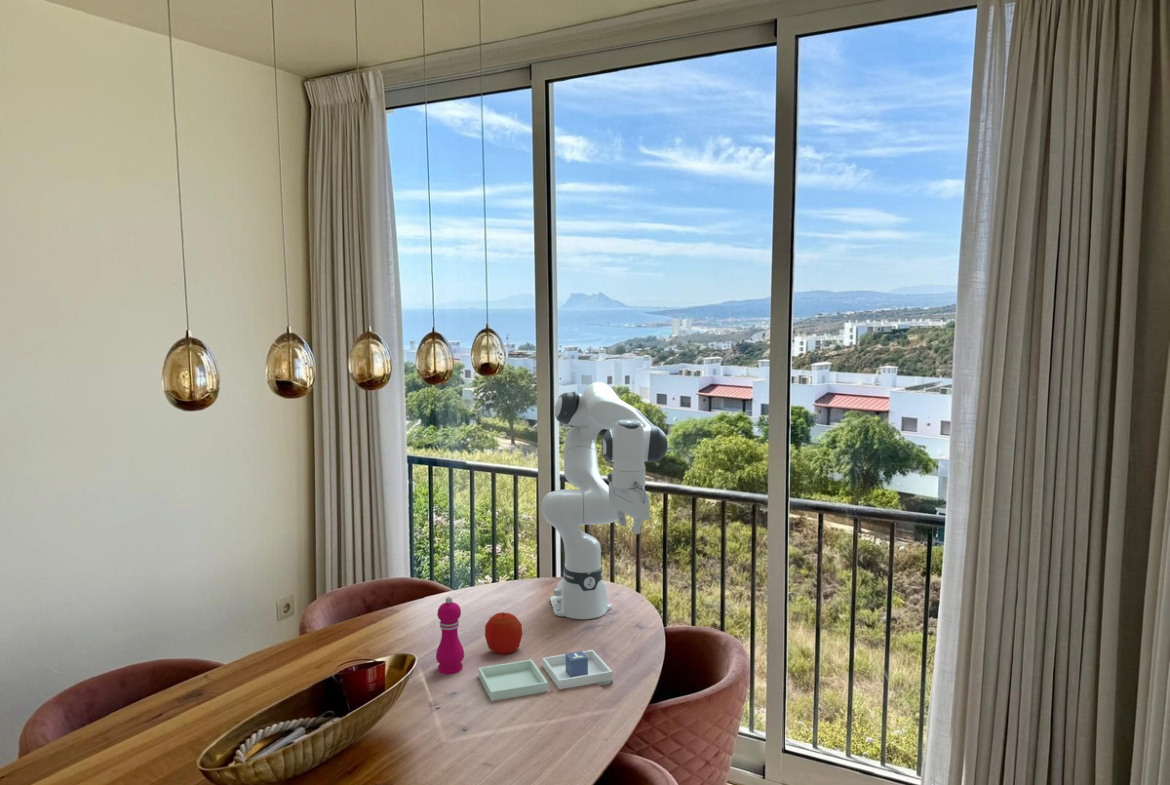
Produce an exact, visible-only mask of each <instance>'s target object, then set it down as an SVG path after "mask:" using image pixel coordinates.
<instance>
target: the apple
mask: <svg viewBox="0 0 1170 785" xmlns="http://www.w3.org/2000/svg"><path fill="white" fill-rule="evenodd" d="M523 634H524V633H523V625H522V623H521V622H520V620H519V619H518V618H517V616H516V615H514V614H512V613H510V612H498V613H495V614H494V615H492V616H490V618H489V619H488V621H487V623H486V624H485V627H484V637H485V641H486V644H487V647H488V649H489V650H490V651H492V652H493V653H495V654H498V655H509V654H511V653H514V652H515V651H517V649H519V648H520V644H521V641H522V638H523Z"/></svg>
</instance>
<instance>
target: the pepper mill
mask: <svg viewBox="0 0 1170 785" xmlns="http://www.w3.org/2000/svg"><path fill="white" fill-rule="evenodd" d="M461 611H462V610H461V606H460V605H459V604H458V603H457V602H453V598H452V597H451V596H447V597H446V598H445V602H444V603H443V602H442V604H440V606H439V607H438V609H437V618H438V619H439V628H440V629H441V637H440V638H441V639H440V642H439V645H438V647H437V649H436V654H435V658H436V662H437V663H438V666H437V670H438V672H439V673H440V674H443V675H453V674H457V673H458V674H459V672H461V671H463V667H464V666H463V662H462V661H463V660H464V658H465V652H464V646H463V645H462V643H461V641H460V637H459V634H458V633H459V632H458V628H459V627H460V620H459V618H461V615H462V612H461Z"/></svg>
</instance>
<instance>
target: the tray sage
mask: <svg viewBox="0 0 1170 785" xmlns="http://www.w3.org/2000/svg"><path fill="white" fill-rule="evenodd" d="M477 672H478V676H477V677H478V679H479V680H480V683H481V684H482V686H483V688H484V690H485V692H486V694H487V696H488V698H489V699H490V702H494V701H501V700H506V699H513V698H518V697H524V696H530V695H531V696H532V695H536V694H541V693H542V694H543V693H548V692H549V682H548V680H547V679H546V678H545V676H544V674H543V673H542V672H541V670H540V669H539V667H538V666H537V664H536V663H535V662H534V660H533V659H526V660H519V661H512V662H508V663H501V664H500V663H499V664H494V665H493V664H492V665H488V666H482V667H481V666H480V667H478V668H477Z"/></svg>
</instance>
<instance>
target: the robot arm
mask: <svg viewBox="0 0 1170 785" xmlns="http://www.w3.org/2000/svg"><path fill="white" fill-rule="evenodd" d="M554 414H555V415H554V416H555V418H556V421H558V422H560V423H562V424H563V425H570V426H571V427H570V429H569V430H568V431H567V433H566V435H565V440H564V445H563V446H564V447H563V472H564V474H563V475H564V477H565V479H566V480H567V482H568V483H569V484H570V485H572V486H574V487H575V488H578V489H558V490H553V491H550V492H547V493H546V494H544V497H543V499H542V501H541V505H540V511H541V515H542V517H543V518H544V520H545V521H546V523H548V524H550V525H551V526H552V527H554V529H556V531H557V532H558V534H559V535H560V537H561V539H562V542H563V546H564V556H565V557H564V558H565V566H564V569H563V576H562V579H561V580H560V581H559V582H558V583H557V585H556V588H553V596H551V597H550V598H549V602H550V601H551V602H550V604H552V605H551V608H552V607H553V608H552V610H553V614H554V616H556V615H557V617H564V616H565V617H564V618H569V619H573V620H574V619H575V620H589V619H592V620H593V619H596V618H600V617H602V616H604V615H605V614H606V613H607V612H608V611H609V610H611V609H612V604H611V603H609V602H608V591H607V583H606V582H605V581H603V574H604V573H603V567H602V566H601V562H602V555H601V553H602V552H601V543H600V541H599V540H598V539H597V538H596V537H594V536H593V535H591V534H588V533H586V532H584V531H583V530H582V528H581V526H583V525H587V526H588V525H607V524H611V523H616V522H618V525H620V526H621V527H624V526H625V527H626V526H627V519H626V515H627V516H629V517H631V518H632V519H633V520H632V521H633V526H631V532H632V533H633V534H634V535H640V534H641V527H642V524H643V521H648V520H650V516H651V506H650V505H651V504H650V496H649V493H648V492H647V491H646V489H645V487H646V465H645V462H647V463H658V462H659V461H661V459H663V458H664V457H665V455H666V454H667V452H668V439H667V436H666V434H665V432H664V431H663V430H662V429H661V428H660V427H658V425H657V426H656V425H654V424H653V423H652V422H651V421H650V420H649V419H648V418H647V417H646V416H645V415H644V414H643V413H642V412H641V411H640V410H639V409H638V408H636V407H634V406H632V405H630V404H628V403H626V402H625V401H623V400H622V399H620V398H619V396H618V395H617V393H616V392H615V390H613V389H612V387H610V386H609V385H608V384H607V383H604V382H603V381H602V382H601V381H595V382H591V383H590V384H588V386H586V388H585V390H584V392H583V393H578V392H577V391H570V392H564V393H562V394H560V395H559V396H558V398H557V400H556V402H555V404H554ZM572 426H573V427H572ZM598 435H599V436H600V437H601V455H602V456H603V457H604V458H605V459H606V460H607V461H609V462H612V463H613V465H612V466H613V467H612V472H610V473H607V475H606V476H607V477H606V478H607V481H608V482H609V483H608V484H607V483H606V482H605V481H604V479H603V478H602V475H601V474H600V468H599V462H598V459H599V458H598V448H597V438H598Z"/></svg>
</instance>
